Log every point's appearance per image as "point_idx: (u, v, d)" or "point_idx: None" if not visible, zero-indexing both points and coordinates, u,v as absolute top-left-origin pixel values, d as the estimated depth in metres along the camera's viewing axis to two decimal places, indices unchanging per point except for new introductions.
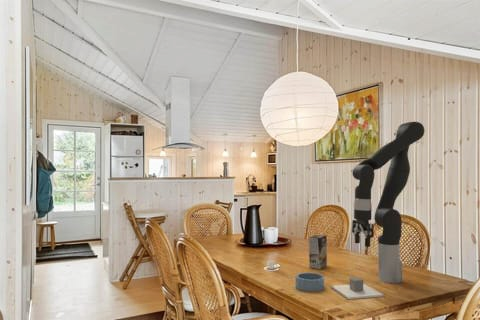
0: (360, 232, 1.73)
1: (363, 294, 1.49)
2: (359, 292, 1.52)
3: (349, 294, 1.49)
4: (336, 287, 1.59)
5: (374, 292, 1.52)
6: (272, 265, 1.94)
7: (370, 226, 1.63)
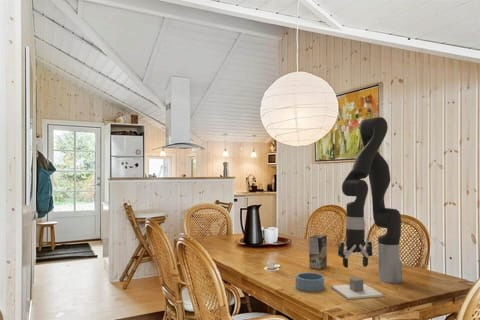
0: None
1: (363, 294, 1.49)
2: (359, 292, 1.52)
3: (349, 294, 1.49)
4: (336, 287, 1.59)
5: (374, 292, 1.52)
6: (272, 265, 1.94)
7: None
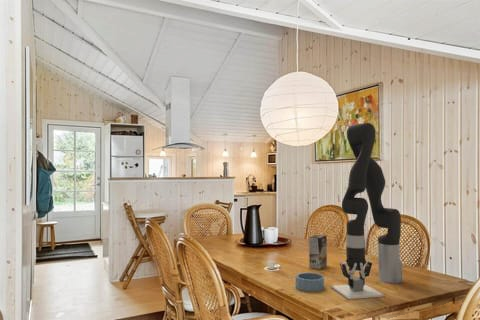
0: None
1: (363, 294, 1.49)
2: (359, 292, 1.52)
3: (349, 294, 1.49)
4: (336, 287, 1.59)
5: (374, 292, 1.52)
6: (272, 265, 1.94)
7: None
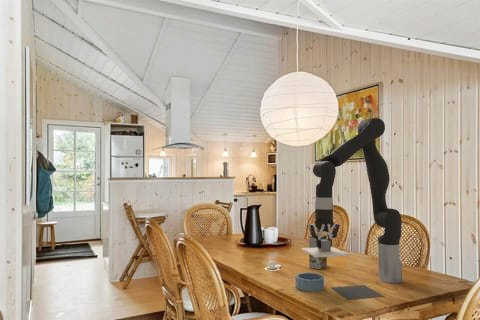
0: None
1: (330, 253, 1.54)
2: (326, 252, 1.57)
3: (316, 253, 1.54)
4: (305, 249, 1.64)
5: (341, 252, 1.57)
6: (273, 265, 1.94)
7: None
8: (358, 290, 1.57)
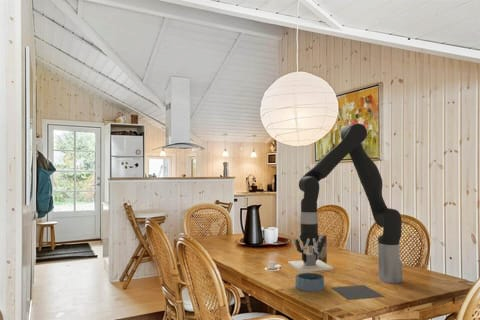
0: None
1: (314, 267, 1.57)
2: (311, 266, 1.60)
3: (301, 267, 1.57)
4: (291, 262, 1.67)
5: (326, 266, 1.60)
6: (273, 265, 1.94)
7: None
8: (358, 290, 1.57)
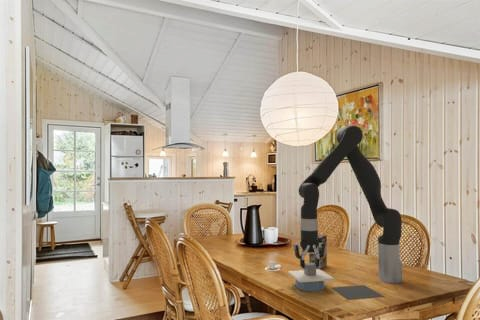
0: None
1: (315, 278, 1.57)
2: (311, 276, 1.60)
3: (301, 278, 1.57)
4: (292, 272, 1.66)
5: (326, 276, 1.60)
6: (273, 265, 1.94)
7: None
8: (358, 290, 1.57)
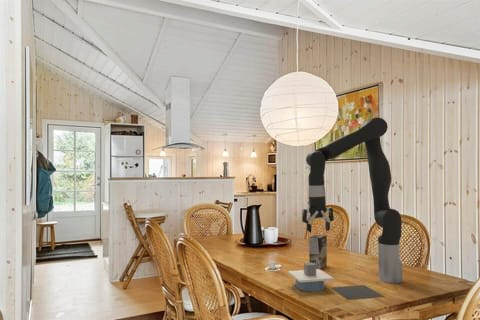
0: None
1: (315, 278, 1.57)
2: (311, 276, 1.60)
3: (301, 278, 1.57)
4: (292, 272, 1.66)
5: (326, 276, 1.60)
6: (273, 265, 1.94)
7: None
8: (358, 290, 1.57)
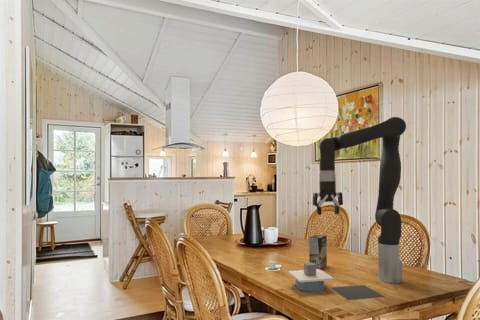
0: None
1: (315, 278, 1.57)
2: (311, 276, 1.60)
3: (301, 278, 1.57)
4: (292, 272, 1.66)
5: (326, 276, 1.60)
6: (273, 265, 1.94)
7: None
8: (358, 290, 1.57)
